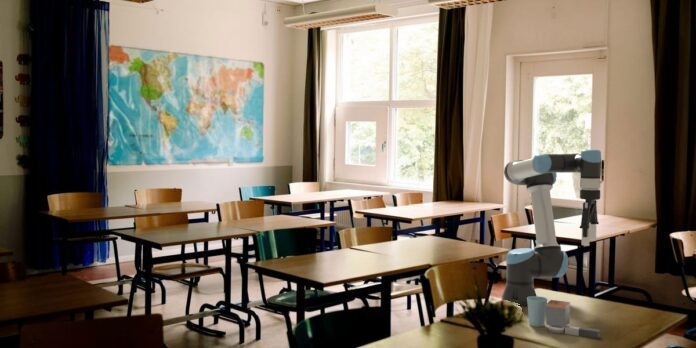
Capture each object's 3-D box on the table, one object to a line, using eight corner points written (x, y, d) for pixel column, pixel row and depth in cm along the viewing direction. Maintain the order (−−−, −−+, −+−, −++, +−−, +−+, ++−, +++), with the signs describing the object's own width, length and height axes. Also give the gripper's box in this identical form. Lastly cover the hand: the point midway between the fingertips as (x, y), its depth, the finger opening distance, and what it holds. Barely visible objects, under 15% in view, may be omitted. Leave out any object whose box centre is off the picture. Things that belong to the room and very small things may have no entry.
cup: (525, 321, 270) (526, 295, 269) (545, 322, 268) (546, 296, 267) (527, 327, 262) (527, 300, 261) (547, 328, 261) (548, 301, 260)
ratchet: (600, 335, 251) (601, 314, 251) (597, 339, 246) (598, 318, 245) (551, 328, 260) (551, 307, 260) (547, 332, 255) (547, 311, 255)
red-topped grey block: (565, 327, 251) (565, 306, 250) (546, 324, 254) (546, 303, 254) (569, 322, 257) (569, 302, 256) (550, 320, 261) (551, 299, 260)
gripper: (593, 191, 252) (592, 248, 254) (606, 187, 274) (604, 239, 275) (573, 191, 256) (571, 246, 257) (586, 186, 278) (585, 237, 279)
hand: (588, 243), depth 266 cm, fingers open, 13 cm apart
